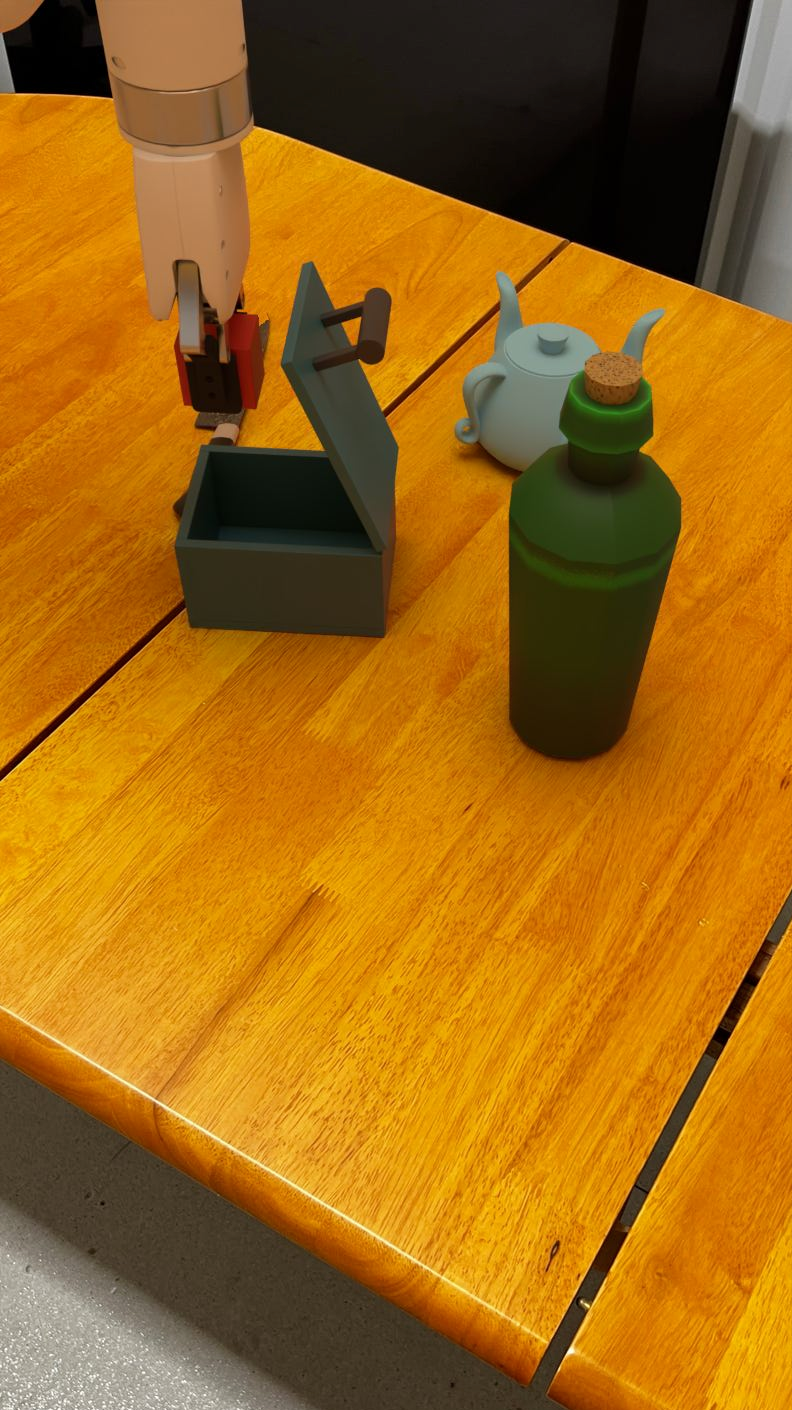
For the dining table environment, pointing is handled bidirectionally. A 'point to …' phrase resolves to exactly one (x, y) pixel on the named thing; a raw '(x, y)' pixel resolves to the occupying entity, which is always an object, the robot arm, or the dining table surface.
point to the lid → (345, 394)
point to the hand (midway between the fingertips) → (223, 386)
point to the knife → (220, 426)
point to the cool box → (279, 546)
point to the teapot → (530, 381)
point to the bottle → (588, 564)
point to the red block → (247, 353)
